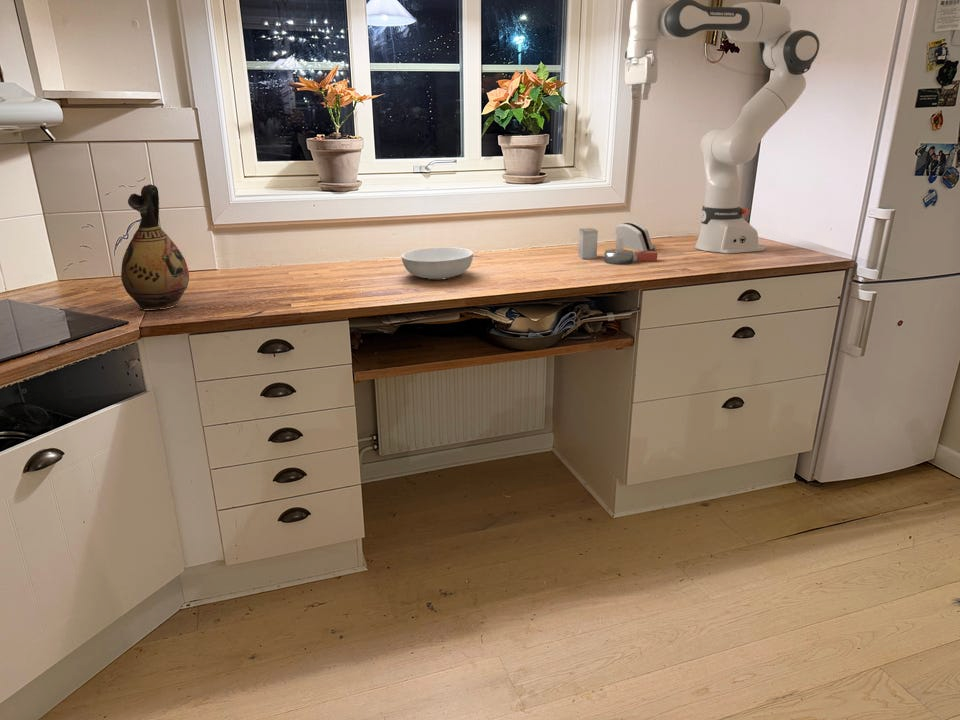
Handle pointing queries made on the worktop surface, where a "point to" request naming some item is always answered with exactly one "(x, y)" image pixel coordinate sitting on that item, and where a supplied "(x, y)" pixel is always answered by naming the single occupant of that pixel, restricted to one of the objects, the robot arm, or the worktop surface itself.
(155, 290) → the ceramic jug
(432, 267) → the serving bowl
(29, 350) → the worktop surface
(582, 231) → the grey block
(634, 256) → the grey dome with handle
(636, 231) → the grey black slotted block
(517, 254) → the worktop surface
